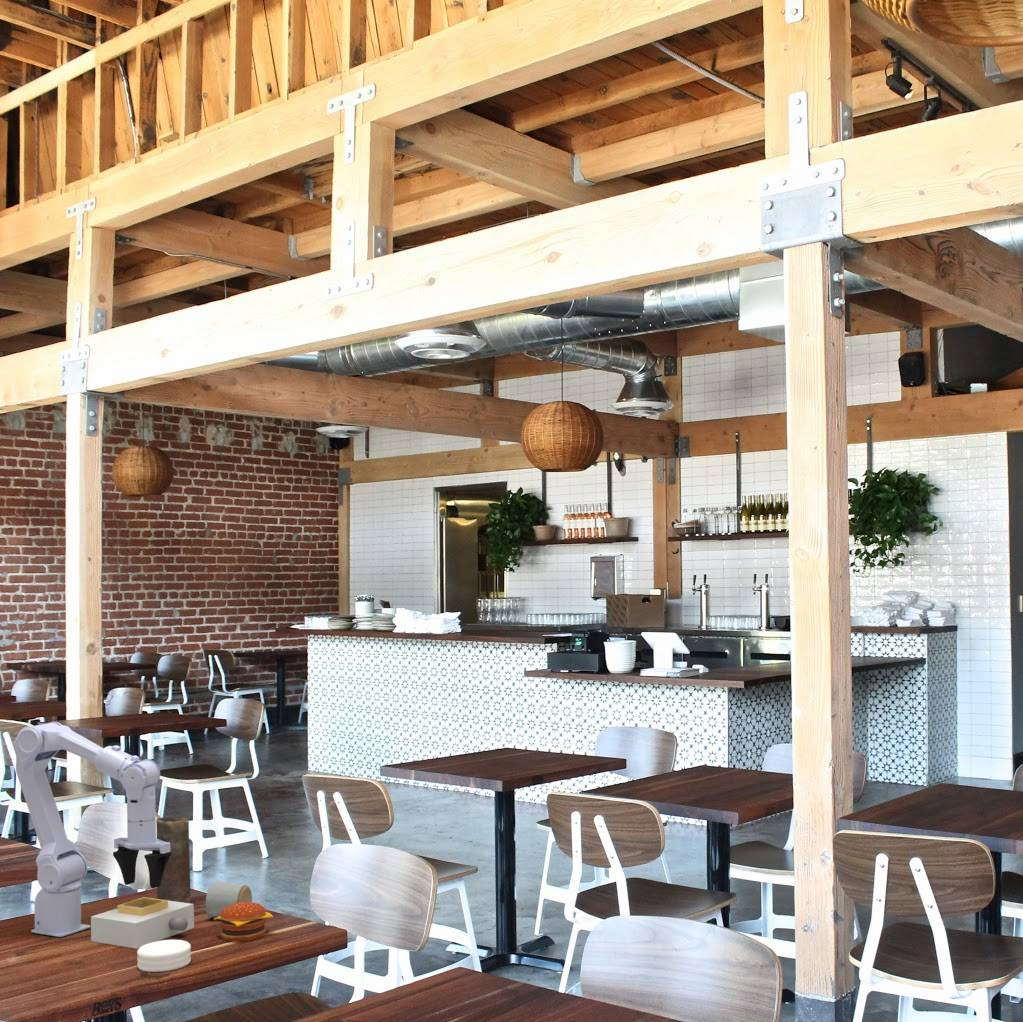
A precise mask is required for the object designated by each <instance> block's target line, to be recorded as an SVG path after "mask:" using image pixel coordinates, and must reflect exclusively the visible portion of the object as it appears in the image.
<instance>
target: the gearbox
mask: <svg viewBox="0 0 1023 1022" xmlns="http://www.w3.org/2000/svg"><path fill="white" fill-rule="evenodd" d="M194 905H195V904H194V903H190V902H189V903H183V902H175V901H168V900H161V899H157V898H153V897H146V896H145V897H144V896H142V897H139V898H136V899H133V900H131V901H127V902H124V903H120V904H118V905H117V906H116V907H117V908H114V909H111V910H107V911H104V912H101V913H97V914H95V915H91V916H90V932H91V933H90V939H91V940H90V941H91V942H93V943H99V944H105V945H112V946H117V947H124V948H129V949H130V948H131V949H137V950H138V949H139V948H140V947H141V946H143V945H145V944H148V943H152V942H156V941H162V940H166V939H167V938H170V937H172V936H175V935H178V934H182V933H185V932H187V931H190V930H193V929H194V928H195V906H194Z"/></svg>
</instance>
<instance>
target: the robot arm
mask: <svg viewBox="0 0 1023 1022" xmlns="http://www.w3.org/2000/svg"><path fill="white" fill-rule="evenodd" d="M12 745H13V748H14V750H15V755H16V758H15V762H16V763H15V773H16V775H17V778H18V781H19V784H20V787H21V790H22V793H23V794H22V795H23V797H24V801H25V803H26V807H27V808H28V809H27V810H28V812H29V816H30V818H31V822H32V824H33V827H34V830H35V833H36V837H37V839H38V842H39V846H40V848H41V849H40V850H39V853H38V855H37V857H36V859H35V863H36V867H37V874H36V877H37V883H38V884H39V886H40V887H41V889H40V890H39V891H38V892H37V893H36V896H35V898H34V929H31V933H34V934H39V935H46V936H50V937H51V936H52V937H58V938H62V937H66V936H69V935H72V934H76V933H78V932H80V931H85V930H87V929H91V924H83V923H82V888H81V886H82V884H83V879H84V878H85V877H86V875H87V873H88V868H89V866H88V861H87V859H86V857H85V856H84V855H83V854H82V853H81V850H79V847H78V845H77V844H76V843H74V841H72V840H70V839H69V838H68V836H67V833H66V830H65V828H64V825H63V821H62V818H61V814H60V812H59V809H58V806H57V803H56V800H55V797H54V794H53V791H52V788H51V785H50V781H49V778H48V776H47V772H46V768H47V766H48V765H49V763H50V761H51V760H52V758H54V756H56V755H57V754H58V753H59V752H60V751H61V750H63V751H67V752H69V753H71V754H73V755H76V756H79V757H81V758H83V759H85V760H88V761H89V762H92V763H94V765H95V769H96V770H97V772H100V773H102V774H104V775H106V776H108V777H110V778H113V779H114V780H116V781H118V782H120V783H121V785H122V787H123V789H124V790H125V797H126V816H127V817H126V818H127V819H126V820H127V821H126V823H127V826H126V827H127V828H126V830H127V837H118V838H114V839H113V848H114V849H115V850H116V849H117V851H115V850H114V851H113V852H112V857H114V859H115V861H116V862H117V864H118V867H119V870H120V871H121V875H122V876H121V877H122V878H123V882H124V885H125V886H127V885H131V884H135V882H136V871H137V870H136V868H137V867H136V866H137V860H138V855H139V851H146V852H151V853H148V854H144V859H145V861H146V865H147V869H148V874H149V875H148V876H149V878H148V879H149V885H150V886H149V887H150V888H151V889H155V888H156V889H157V887H159V886H160V885H161V880H162V876H163V872H164V869H165V866H166V864H167V862H168V860H169V858H170V856H171V852H170V842H164V841H161V840H158V839H157V823H156V820H157V817H156V815H157V813H156V785H157V783H158V782H159V781H160V778H161V769H160V767H159V765H158V764H157V763H156V762H155V761H153V760H152V759H151V758H147V759H142V760H140V757H139V756H137V755H131V754H129V753H127V752H125V751H123V750H122V749H121V748H122V747H121V746H120V745H108V746H105V747H102V746H100V745H99V744H97V743H95V742H93V741H91V740H89V739H87V738H86V737H84V736H83V735H81V734H80V733H79V734H78V733H77V732H76V731H74V730H72V729H71V727H70V726H67V725H63V724H62V723H60V722H58V721H51V722H47V723H44V724H42V723H41V724H38V725H32V726H30V725H28V726H24V727H23V728H21V729H20V730H19V732H18V733H17V734H16V737H15V739H14V740H13V742H12Z"/></svg>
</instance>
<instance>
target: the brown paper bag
mask: <svg viewBox="0 0 1023 1022" xmlns="http://www.w3.org/2000/svg"><path fill="white" fill-rule="evenodd" d="M156 839H158V840H161V841H164V842H170V852H171V856H170V858H169V860H168V862H167V864H166V866H165V869H164V872H163V876H162V880H161V885H160V886H159V887H156V899H161V900H168V901H175V902H183V903H190V902H191V898H192V896H191V866H190V863H191V861H190V825H189V819H188V818H185V817H172V816H162V817H158V818H157V817H156Z"/></svg>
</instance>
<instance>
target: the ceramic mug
mask: <svg viewBox="0 0 1023 1022" xmlns="http://www.w3.org/2000/svg"><path fill="white" fill-rule="evenodd" d="M252 893H253V892H252V889H251V888H250V886H248V885H247V884H243V883H237V882H229V881H219V880H215V881H212V882H211V883H210V884H209V887H208V889H207V892H206V894H205V895H206V896H205V912H206V914H207V916H208V917H209V918H210V919H211V918H212V919H214V918H217V917H219V916H220V914H221V911H222V910H223V909H224V908H226V907H228V906H230V905H232V904H235V903H240V902H253V894H252Z"/></svg>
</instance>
